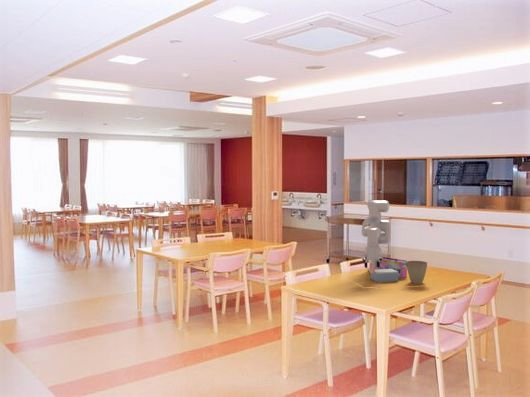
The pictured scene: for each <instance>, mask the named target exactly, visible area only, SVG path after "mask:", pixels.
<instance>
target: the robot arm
mask: <svg viewBox="0 0 530 397" xmlns="http://www.w3.org/2000/svg"><path fill="white" fill-rule="evenodd" d="M366 205H367V209H368V217H366V218H365V219H364V220H363V222H362V226H361V235H362V236H363V237H365V238H367V240H366V242H367V243H366V244H367V245H366V246H365V251H364V255H361V257H360V258H361V260H362V261H363V263H364V266H363V267H364V268H365V269H367V270H368V271H369V267H368V261H369V263H374V264H375V269H378V268H379V266H380V262H381V260H382V258H383V257H384V256H383V255H382V248H381V246H380V245H386V246H387V245H390V244H391V239H392V238H391V230H392V229H391V227H392V226H391V222H390V221H389V220H387V219H382V213H388V212H389V210H390V202H389V201H388V200H369V201H367V203H366ZM369 225H370V226H369ZM379 258H380V259H379Z"/></svg>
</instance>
